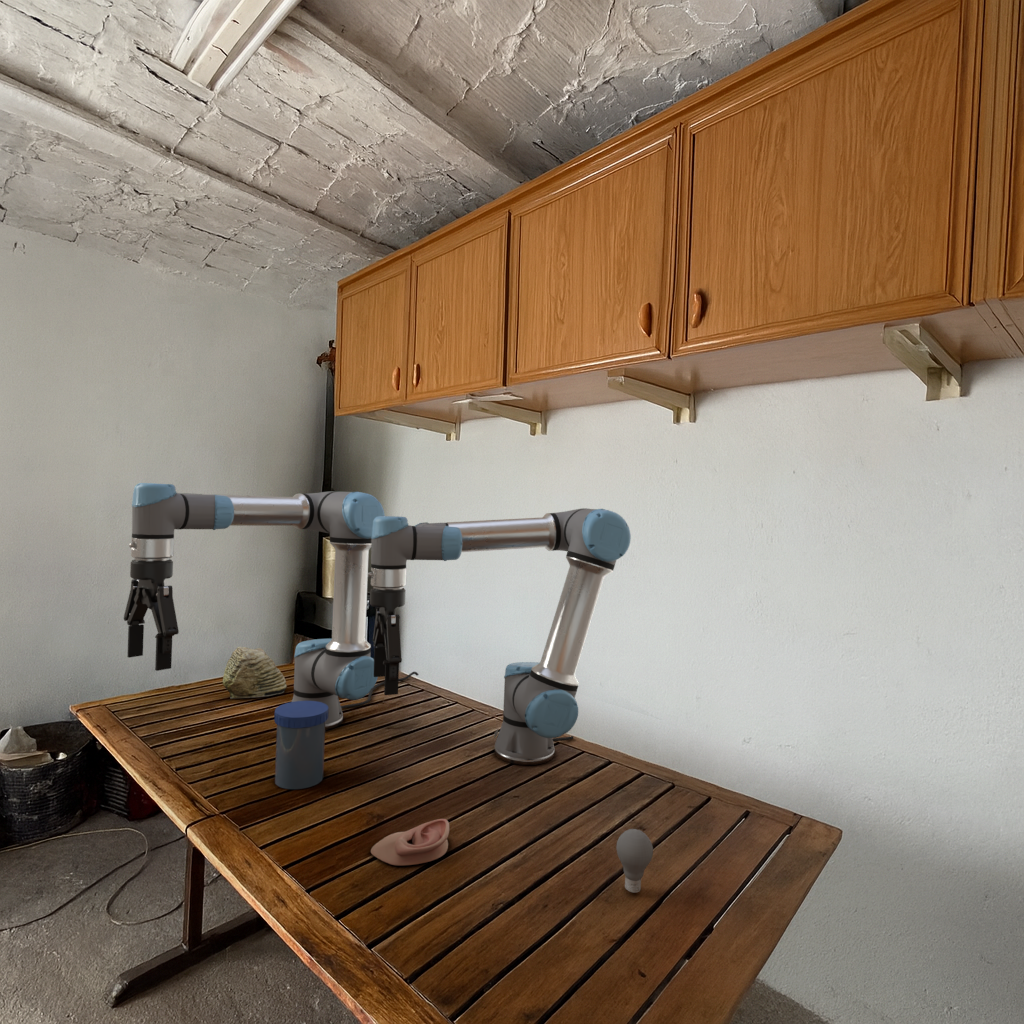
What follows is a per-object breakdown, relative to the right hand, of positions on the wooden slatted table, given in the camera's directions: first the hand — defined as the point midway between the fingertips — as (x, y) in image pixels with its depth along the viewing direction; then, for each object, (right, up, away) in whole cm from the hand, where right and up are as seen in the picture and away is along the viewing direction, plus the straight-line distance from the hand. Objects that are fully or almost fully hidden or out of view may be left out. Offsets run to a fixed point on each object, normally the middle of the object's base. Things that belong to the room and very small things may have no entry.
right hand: (385, 685), depth 137 cm
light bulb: (+48, -26, -32) cm, 63 cm away
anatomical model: (+9, -24, -22) cm, 34 cm away
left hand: (-47, +7, -8) cm, 48 cm away
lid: (-19, -7, +4) cm, 21 cm away
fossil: (-53, -20, +61) cm, 83 cm away
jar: (-20, -22, +4) cm, 30 cm away
